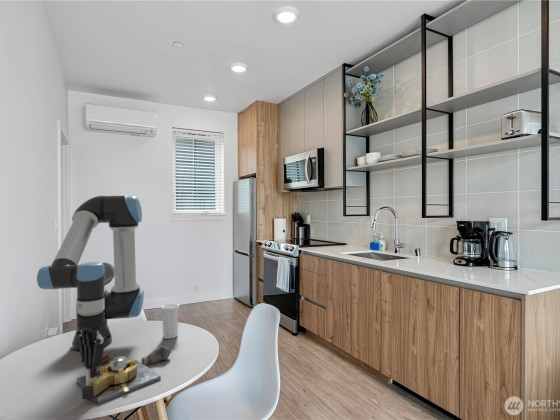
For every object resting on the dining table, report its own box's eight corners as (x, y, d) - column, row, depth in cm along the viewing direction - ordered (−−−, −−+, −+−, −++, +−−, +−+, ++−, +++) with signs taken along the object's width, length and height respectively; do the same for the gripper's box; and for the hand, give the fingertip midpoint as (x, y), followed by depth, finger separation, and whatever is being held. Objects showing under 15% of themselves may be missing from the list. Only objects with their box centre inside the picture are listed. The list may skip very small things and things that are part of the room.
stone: (141, 370, 125) (155, 357, 123) (137, 356, 127) (150, 344, 126) (161, 366, 133) (175, 354, 131) (157, 353, 136) (170, 342, 134)
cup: (176, 340, 150) (176, 308, 150) (158, 340, 150) (157, 308, 150) (181, 333, 158) (181, 303, 158) (164, 333, 158) (164, 303, 158)
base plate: (76, 381, 115) (76, 360, 115) (135, 361, 129) (134, 343, 129) (99, 406, 100) (99, 382, 100) (162, 380, 115) (162, 359, 115)
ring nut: (115, 367, 122) (115, 355, 122) (142, 369, 119) (142, 357, 119) (70, 397, 102) (70, 383, 102) (101, 401, 100) (101, 387, 100)
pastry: (88, 360, 131) (88, 347, 131) (110, 357, 134) (109, 344, 134) (85, 369, 124) (84, 355, 124) (107, 365, 127) (107, 352, 127)
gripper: (68, 311, 106) (68, 386, 106) (89, 319, 99) (90, 398, 99) (92, 306, 113) (92, 376, 113) (114, 312, 106) (114, 387, 106)
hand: (91, 386), depth 106 cm, fingers closed
